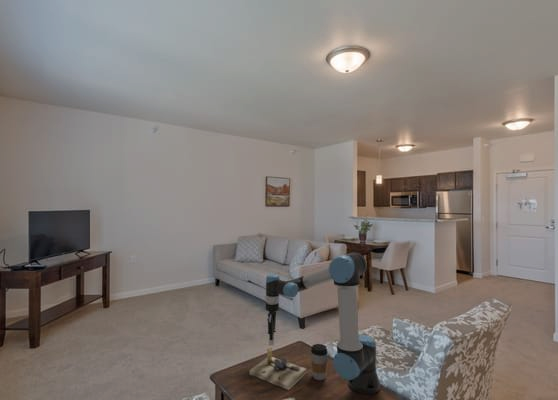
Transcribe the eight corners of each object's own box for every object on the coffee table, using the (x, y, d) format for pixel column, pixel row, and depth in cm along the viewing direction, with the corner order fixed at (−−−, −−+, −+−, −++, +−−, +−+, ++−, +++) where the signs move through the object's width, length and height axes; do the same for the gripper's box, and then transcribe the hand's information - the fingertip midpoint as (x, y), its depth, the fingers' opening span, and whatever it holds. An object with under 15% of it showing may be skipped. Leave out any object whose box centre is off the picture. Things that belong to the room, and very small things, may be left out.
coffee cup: (326, 382, 145) (327, 351, 145) (310, 380, 147) (310, 350, 147) (327, 373, 153) (327, 344, 154) (311, 371, 155) (311, 342, 155)
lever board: (306, 372, 154) (306, 365, 154) (289, 390, 139) (289, 382, 139) (269, 359, 167) (269, 353, 167) (249, 374, 152) (249, 367, 152)
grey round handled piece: (293, 366, 155) (294, 352, 155) (284, 374, 148) (285, 359, 148) (272, 358, 163) (272, 345, 163) (262, 365, 155) (262, 352, 155)
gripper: (268, 298, 172) (267, 338, 172) (263, 305, 160) (262, 349, 159) (280, 299, 171) (280, 340, 171) (276, 306, 158) (275, 351, 158)
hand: (271, 344), depth 165 cm, fingers closed
